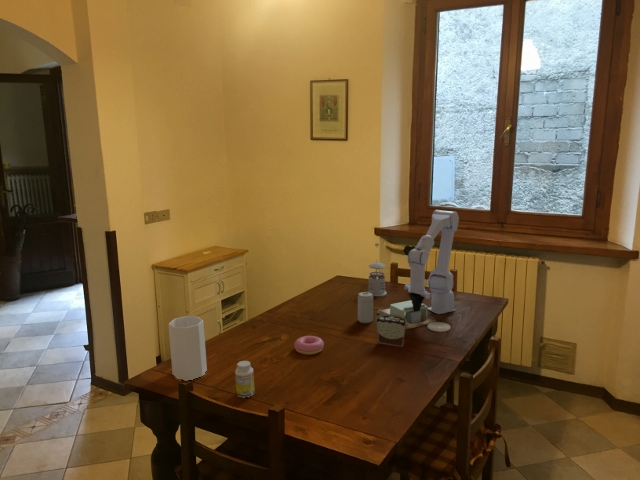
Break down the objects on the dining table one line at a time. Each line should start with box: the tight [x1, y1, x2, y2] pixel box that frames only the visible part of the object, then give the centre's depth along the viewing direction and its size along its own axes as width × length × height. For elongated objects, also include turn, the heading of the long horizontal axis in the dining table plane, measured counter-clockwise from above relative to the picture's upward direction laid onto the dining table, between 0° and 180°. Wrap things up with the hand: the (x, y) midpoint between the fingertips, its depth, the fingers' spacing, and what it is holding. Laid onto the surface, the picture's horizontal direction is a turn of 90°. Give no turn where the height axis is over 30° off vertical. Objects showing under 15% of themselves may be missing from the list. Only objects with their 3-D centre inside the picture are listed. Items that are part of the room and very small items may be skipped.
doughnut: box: [293, 335, 325, 356], centre depth 190 cm, size 11×11×4 cm
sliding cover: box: [389, 299, 429, 318], centre depth 218 cm, size 12×10×6 cm
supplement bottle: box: [234, 360, 256, 399], centre depth 159 cm, size 6×6×10 cm
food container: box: [374, 314, 407, 348], centre depth 195 cm, size 12×6×10 cm, turn 65°
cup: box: [168, 315, 208, 382], centre depth 172 cm, size 11×11×18 cm
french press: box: [367, 242, 388, 297], centre depth 252 cm, size 10×12×25 cm
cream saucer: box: [427, 321, 451, 333], centre depth 209 cm, size 9×9×1 cm
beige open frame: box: [376, 308, 437, 330], centre depth 220 cm, size 15×21×2 cm
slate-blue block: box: [405, 311, 422, 324], centre depth 215 cm, size 4×4×5 cm
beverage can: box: [357, 291, 374, 324], centre depth 216 cm, size 6×6×12 cm
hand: (416, 310), depth 213 cm, fingers closed
